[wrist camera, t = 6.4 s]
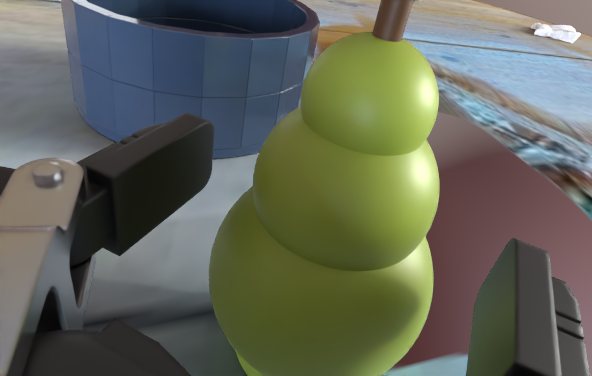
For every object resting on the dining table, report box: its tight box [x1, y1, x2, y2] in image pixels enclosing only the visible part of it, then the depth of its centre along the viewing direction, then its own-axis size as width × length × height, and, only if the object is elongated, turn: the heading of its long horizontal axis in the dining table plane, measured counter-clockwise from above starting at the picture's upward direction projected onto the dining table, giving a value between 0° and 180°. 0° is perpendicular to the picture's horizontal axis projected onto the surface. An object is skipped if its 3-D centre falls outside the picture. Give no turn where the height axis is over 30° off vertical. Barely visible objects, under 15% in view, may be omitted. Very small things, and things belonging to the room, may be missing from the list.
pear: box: [209, 0, 439, 376], centre depth 11 cm, size 6×6×12 cm
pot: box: [61, 0, 320, 159], centre depth 26 cm, size 14×14×6 cm
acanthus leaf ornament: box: [531, 22, 581, 43], centre depth 71 cm, size 8×7×2 cm
